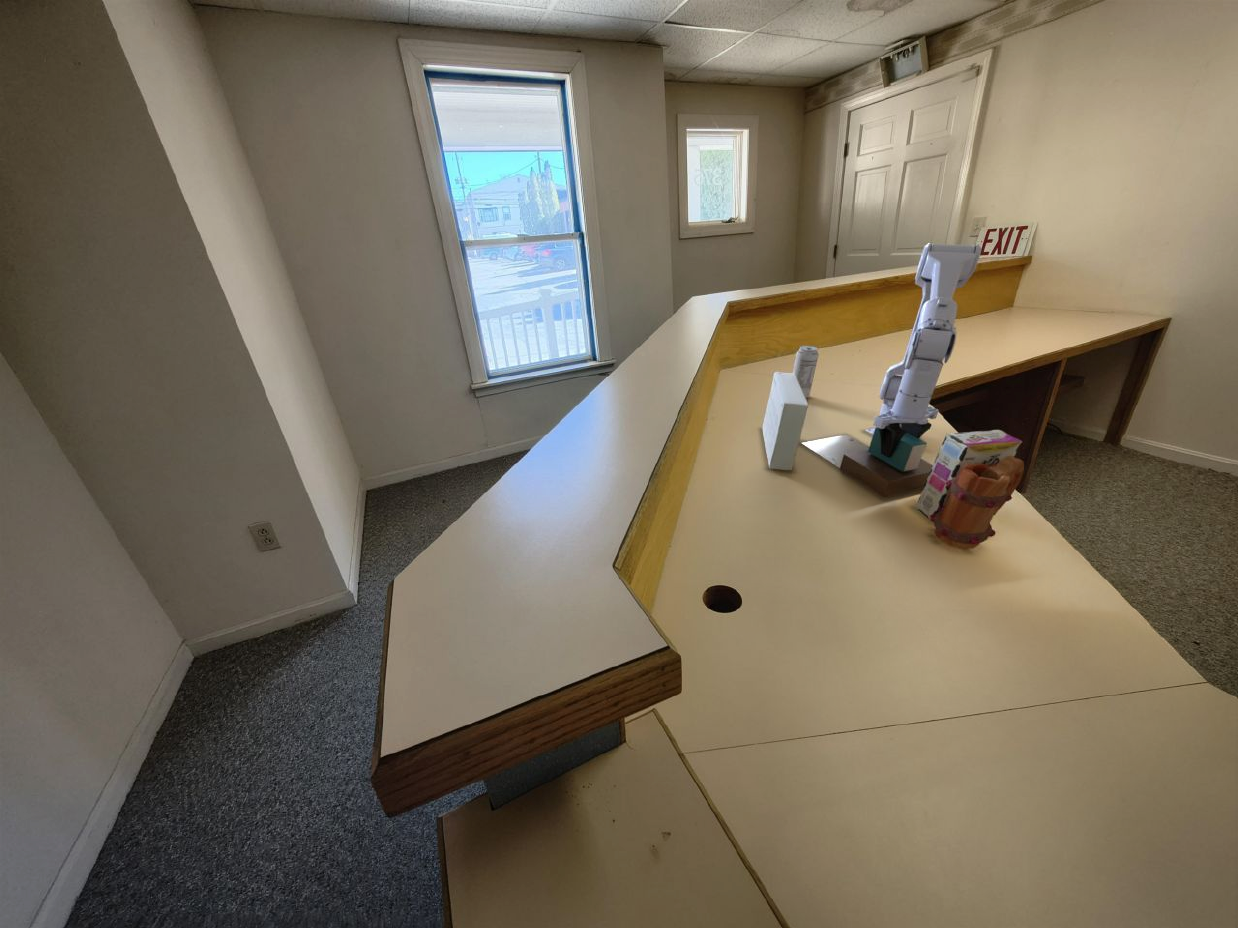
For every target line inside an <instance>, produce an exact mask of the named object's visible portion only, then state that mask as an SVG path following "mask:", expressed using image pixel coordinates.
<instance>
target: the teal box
mask: <svg viewBox="0 0 1238 928" xmlns="http://www.w3.org/2000/svg"><path fill="white" fill-rule="evenodd" d="M875 427H876V426H875ZM875 427H874V428H875ZM927 444H928V442H927V441H925V440H922V439H920V438H919V439H918V438H916V437H914V436H912V435H910V434H908V433H906V434H905V435H904V436H903V437H902V438H901V440H900V441H899V443H898V445H897V447H896V449H895V451H894V453H893V455H892V456H891V457H889V458H888V457H886V456H884V455H883V454H881V437H880V432H879V429H878V427H876V428H875V431H874V434H873V435H872V437H871V441H870V444H869V446H868V447H869V450H868V452H869V453H871V454H872V455H874V456H876V457H878V458H879V459H881V460H883V461H884V462H886V463H888V464H890V465H891V466H893V467H895V468H897V469H898V470H900V471H902V472H904V471H909V470H913V469H917V468H918V465H919V463H920V460H921V459H922V458H923V454H924V452H925V449H926V447H927Z"/></svg>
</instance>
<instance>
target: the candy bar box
mask: <svg viewBox="0 0 1238 928" xmlns="http://www.w3.org/2000/svg"><path fill="white" fill-rule="evenodd" d="M1022 443H1023V441H1022V440H1020V439H1019V438H1017V437H1015V436H1013V435H1011V434H1009V433H1007V432H1005V431H1004V430H1000V429H991V430H979V431H966V432H950V433H946V434H945V437H944V438H943V441H942V443H941V446H940V448H939V450H938V453H937V455H936V457H935V459H934V462H933V464H932V465H933V467H932V469H931V472H930V474H929V476H928V478H927V481H926V483H925V486H924V487H923V488H922V490H921V492H920V495H919V498H918V500H917V502H916V504H915V507H914V508H915V509H916V510H917V511H918V512H919V513H921V514H922V515H923V516H924V517H925V518H926V519H927V520H929V521H930V522H932V520H931V519H930V515H932V514H937V513H938V512H939V511H941V510H943V509H944V508H945V506H946V504H947V501H948V499H949V496H950V493H951V491H950V488H949V487H948V486H947V485H946V482H947V481H948V480H953V479H954V478H955V477H957V476H959V474H960V472H961V470H962V468H963V467H964V466H965V465H966V464H971V465H973V464H974V463H982V464H986V465H987V466H988V467H992V466H996V465H997V464H998V463H999V462H1000V461H1001V460H1003V459H1004V458H1005V457H1007V456H1013V457H1015V456H1016V455H1017V452H1018V451H1019V449H1020V447H1021V445H1022Z"/></svg>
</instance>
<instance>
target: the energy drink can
mask: <svg viewBox="0 0 1238 928" xmlns="http://www.w3.org/2000/svg"><path fill="white" fill-rule="evenodd" d="M818 349H819V348H818V347H816V346H813V345H800V346H799V349H798V350H797V351H796V354H795V359H794V365H793V369H792V370H793V371H792V373H794V374H795V376H796V378H797V380H798V383H799V385H800V387H801V390H802V392H803V394H804V397H805V399H806V400H807V399H808V398H809V397H810V395H811V390H812V386H813V383H814V377H815V372H816V368H817V365H818V364H817V363H818V359H819V355H820V354H819V352H818Z"/></svg>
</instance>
